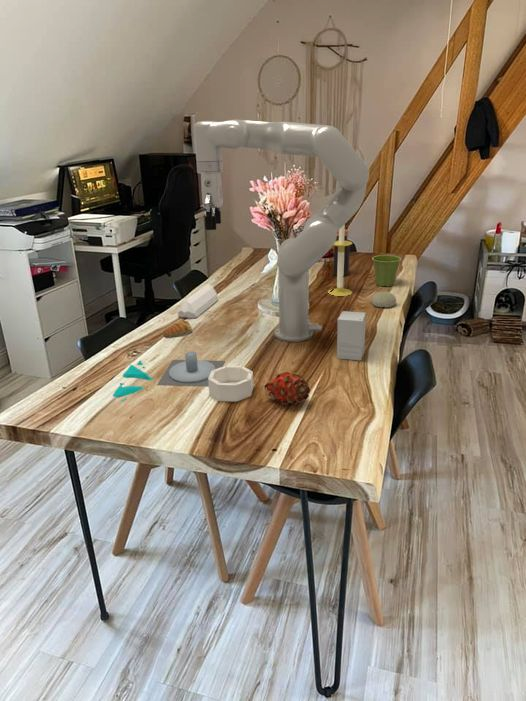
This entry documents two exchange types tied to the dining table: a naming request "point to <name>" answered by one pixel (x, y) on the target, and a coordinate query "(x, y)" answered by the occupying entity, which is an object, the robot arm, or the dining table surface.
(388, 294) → the sea urchin shell
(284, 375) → the dragon fruit
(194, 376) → the lid
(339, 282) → the candle
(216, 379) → the bowl
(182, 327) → the pastry
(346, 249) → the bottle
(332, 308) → the dining table surface
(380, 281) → the plant pot
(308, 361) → the dining table surface
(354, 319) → the supplement box
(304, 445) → the dining table surface
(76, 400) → the dining table surface
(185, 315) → the crystal
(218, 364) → the mat
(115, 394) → the cloth
